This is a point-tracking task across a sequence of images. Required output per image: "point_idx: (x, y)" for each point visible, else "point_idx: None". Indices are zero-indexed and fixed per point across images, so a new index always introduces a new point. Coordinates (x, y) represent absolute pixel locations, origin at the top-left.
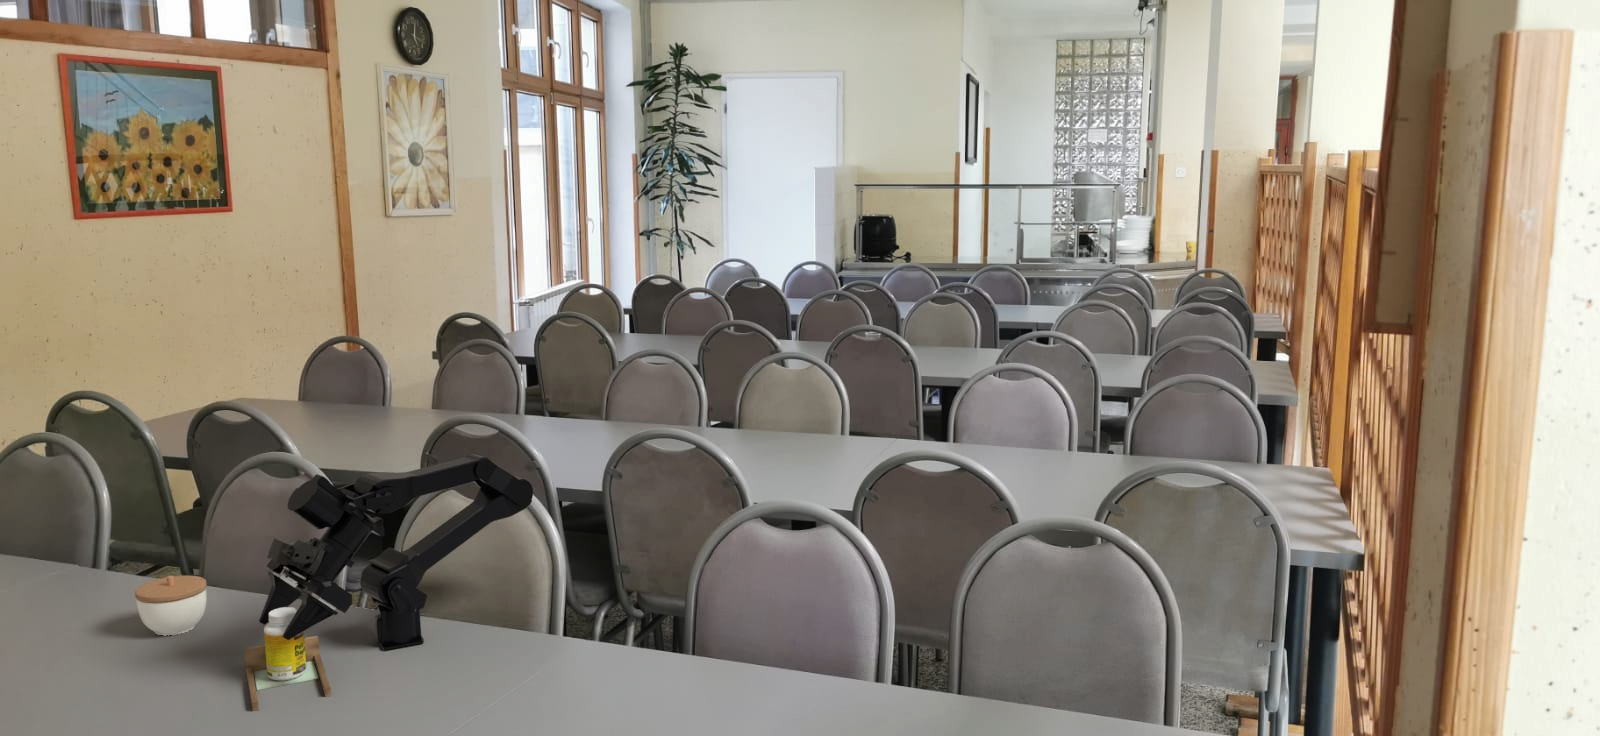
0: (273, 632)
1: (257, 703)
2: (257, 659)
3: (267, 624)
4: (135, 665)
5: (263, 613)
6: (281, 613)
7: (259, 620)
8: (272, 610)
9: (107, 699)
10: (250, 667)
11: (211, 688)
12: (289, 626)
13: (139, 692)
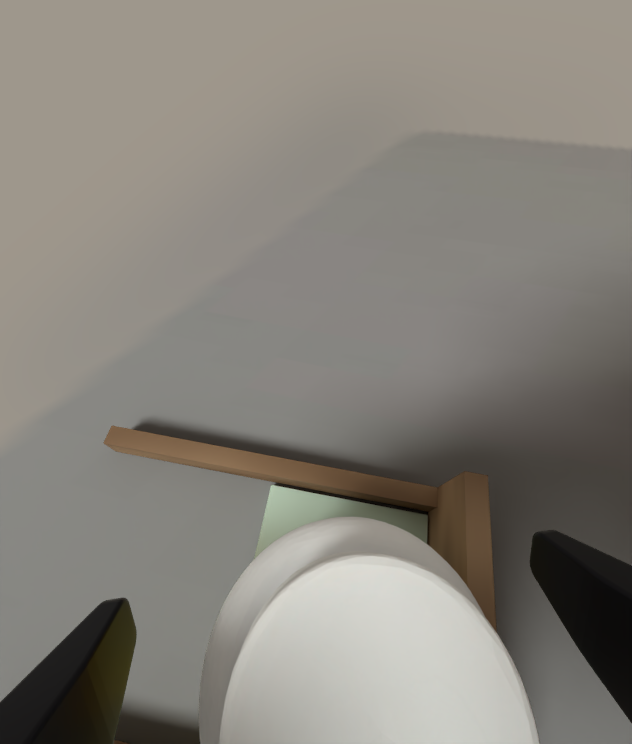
0: (256, 558)
1: (106, 442)
2: (445, 527)
3: (413, 554)
4: (628, 284)
5: (593, 567)
6: (320, 697)
7: (550, 532)
8: (476, 624)
9: (440, 221)
10: (427, 499)
11: (376, 384)
12: (35, 685)
13: (447, 264)
